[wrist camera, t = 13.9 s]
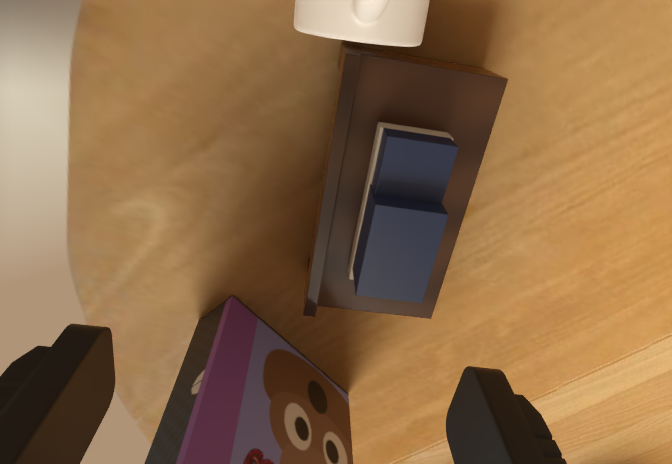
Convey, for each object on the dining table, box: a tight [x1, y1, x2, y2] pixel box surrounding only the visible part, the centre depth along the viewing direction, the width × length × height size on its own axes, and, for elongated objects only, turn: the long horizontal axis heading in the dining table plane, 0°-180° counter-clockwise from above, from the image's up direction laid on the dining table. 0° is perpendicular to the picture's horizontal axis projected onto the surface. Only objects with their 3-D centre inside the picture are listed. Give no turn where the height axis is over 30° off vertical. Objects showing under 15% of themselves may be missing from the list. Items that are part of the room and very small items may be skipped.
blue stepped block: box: [348, 122, 459, 303], centre depth 32 cm, size 12×5×5 cm, turn 171°
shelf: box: [303, 44, 508, 319], centre depth 35 cm, size 20×11×6 cm, turn 171°
